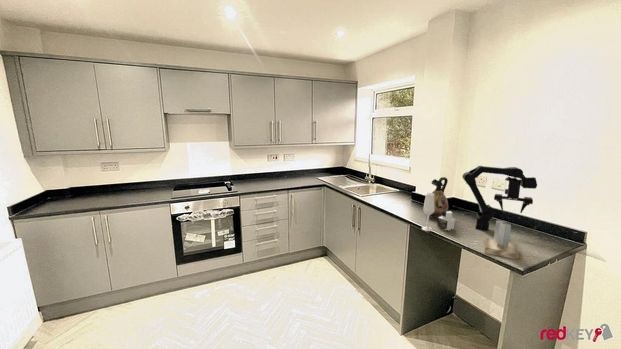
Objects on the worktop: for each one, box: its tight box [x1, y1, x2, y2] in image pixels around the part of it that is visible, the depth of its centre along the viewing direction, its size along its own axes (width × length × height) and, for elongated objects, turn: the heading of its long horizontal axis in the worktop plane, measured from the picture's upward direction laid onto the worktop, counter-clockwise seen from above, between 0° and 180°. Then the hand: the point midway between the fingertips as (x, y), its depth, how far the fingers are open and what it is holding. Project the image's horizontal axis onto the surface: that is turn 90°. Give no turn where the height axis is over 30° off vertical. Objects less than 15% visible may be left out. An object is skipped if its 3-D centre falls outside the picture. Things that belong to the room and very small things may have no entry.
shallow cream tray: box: [483, 237, 519, 260], centre depth 138 cm, size 14×14×3 cm
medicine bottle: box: [436, 209, 456, 231], centre depth 168 cm, size 7×7×12 cm
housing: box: [493, 220, 512, 248], centre depth 137 cm, size 5×5×13 cm
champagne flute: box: [421, 192, 434, 232], centre depth 166 cm, size 7×7×24 cm
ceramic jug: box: [429, 177, 449, 219], centre depth 189 cm, size 17×15×30 cm
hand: (511, 211), depth 161 cm, fingers open, 9 cm apart
